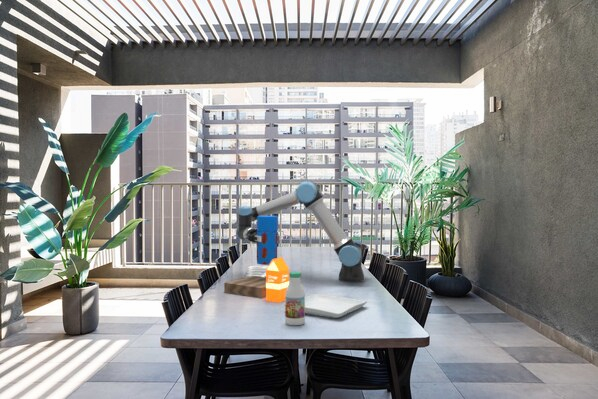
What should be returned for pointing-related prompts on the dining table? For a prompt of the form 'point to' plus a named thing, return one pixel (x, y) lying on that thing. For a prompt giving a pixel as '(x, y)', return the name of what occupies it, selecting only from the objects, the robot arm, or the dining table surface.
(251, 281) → the walnut riser
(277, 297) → the orange juice
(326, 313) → the square plate
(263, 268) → the holder
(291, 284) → the milk bottle
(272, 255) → the thermos
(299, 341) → the dining table surface
